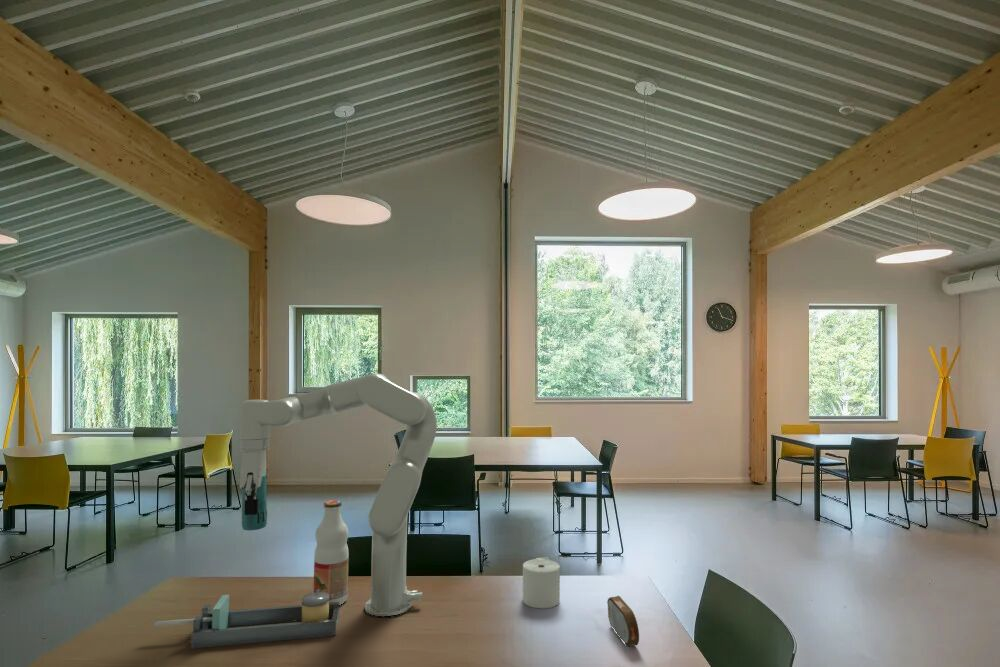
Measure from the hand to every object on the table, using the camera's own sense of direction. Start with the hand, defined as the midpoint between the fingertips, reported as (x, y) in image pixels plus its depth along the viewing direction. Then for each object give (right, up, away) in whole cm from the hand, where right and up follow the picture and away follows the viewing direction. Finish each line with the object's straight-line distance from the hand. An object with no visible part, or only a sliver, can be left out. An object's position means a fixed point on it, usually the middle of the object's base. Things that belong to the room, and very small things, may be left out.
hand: (253, 510), depth 153 cm
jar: (+20, -27, -9) cm, 35 cm away
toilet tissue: (+79, -28, +8) cm, 84 cm away
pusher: (-9, -26, -15) cm, 32 cm away
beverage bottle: (0, -6, 0) cm, 6 cm away
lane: (+9, -27, -12) cm, 30 cm away
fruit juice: (+19, -28, +6) cm, 34 cm away
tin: (+98, -27, -14) cm, 103 cm away
